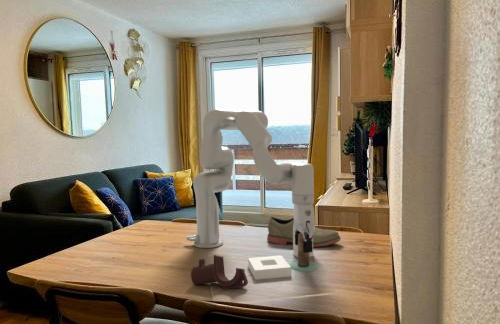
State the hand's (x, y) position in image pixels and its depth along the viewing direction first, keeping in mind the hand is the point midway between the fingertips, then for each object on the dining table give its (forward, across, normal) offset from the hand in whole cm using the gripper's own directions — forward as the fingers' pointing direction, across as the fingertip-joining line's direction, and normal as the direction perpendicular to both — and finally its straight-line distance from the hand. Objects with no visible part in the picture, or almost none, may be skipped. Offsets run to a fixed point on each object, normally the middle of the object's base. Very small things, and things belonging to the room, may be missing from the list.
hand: (303, 248), depth 123 cm
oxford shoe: (+7, +27, -9) cm, 30 cm away
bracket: (+7, -9, +30) cm, 32 cm away
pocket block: (+7, -2, +13) cm, 15 cm away
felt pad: (+7, 0, 0) cm, 7 cm away
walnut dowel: (+6, 0, 0) cm, 6 cm away
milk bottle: (+7, +12, -4) cm, 14 cm away
